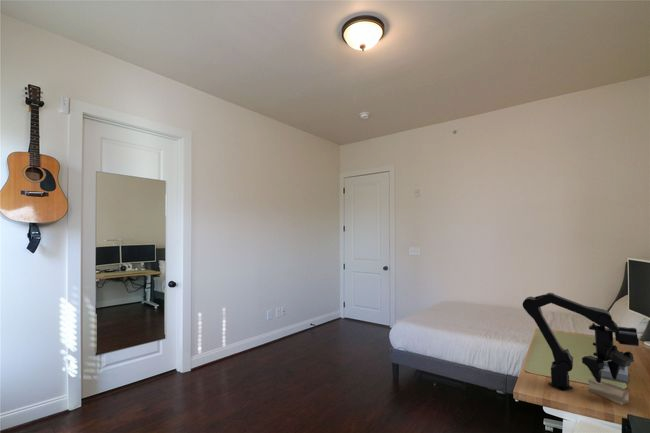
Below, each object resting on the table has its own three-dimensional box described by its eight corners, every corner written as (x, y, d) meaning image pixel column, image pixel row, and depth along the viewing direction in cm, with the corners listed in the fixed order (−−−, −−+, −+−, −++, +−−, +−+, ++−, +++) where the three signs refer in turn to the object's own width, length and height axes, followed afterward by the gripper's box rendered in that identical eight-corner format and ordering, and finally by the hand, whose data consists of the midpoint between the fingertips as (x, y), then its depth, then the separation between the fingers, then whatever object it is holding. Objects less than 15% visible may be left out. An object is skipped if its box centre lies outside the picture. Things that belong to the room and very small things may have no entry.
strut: (621, 405, 128) (621, 392, 128) (589, 391, 140) (588, 379, 140) (628, 403, 129) (628, 390, 130) (595, 389, 141) (595, 377, 141)
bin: (628, 383, 145) (627, 375, 145) (592, 376, 153) (592, 368, 153) (628, 371, 156) (627, 364, 156) (595, 365, 164) (594, 358, 164)
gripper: (610, 351, 125) (613, 393, 124) (643, 344, 131) (646, 385, 130) (579, 342, 136) (582, 381, 135) (611, 336, 141) (613, 374, 141)
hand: (606, 380), depth 135 cm, fingers open, 9 cm apart
